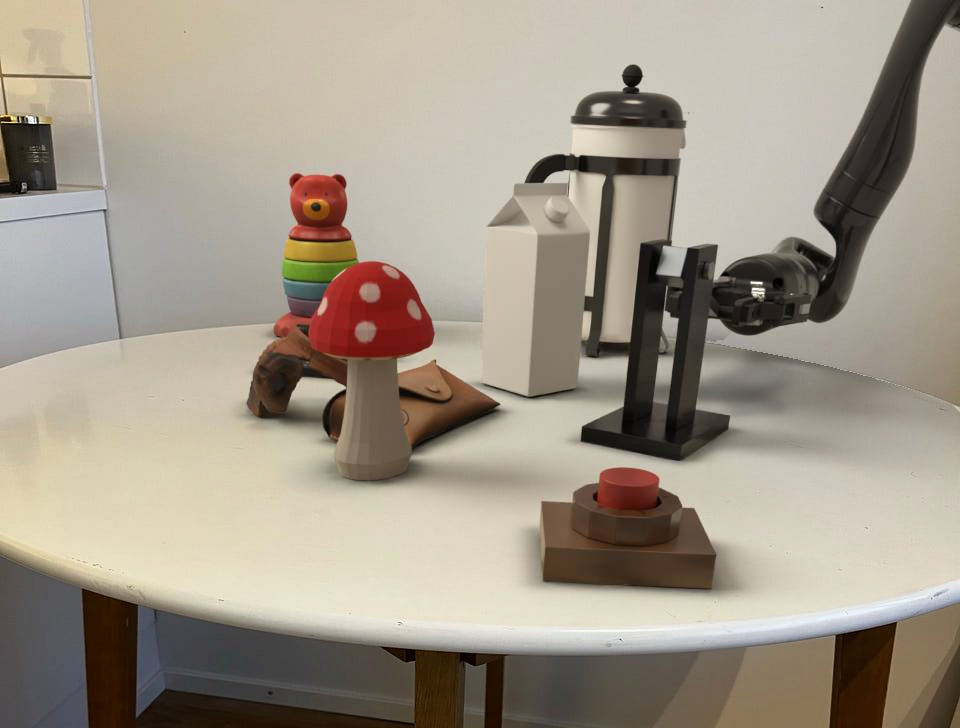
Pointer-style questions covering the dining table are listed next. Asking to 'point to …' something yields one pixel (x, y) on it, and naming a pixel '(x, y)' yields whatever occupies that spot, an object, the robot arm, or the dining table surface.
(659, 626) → the dining table surface
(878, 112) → the robot arm
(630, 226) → the coffee press
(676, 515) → the button block
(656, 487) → the red button
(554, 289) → the milk carton
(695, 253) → the lever stand
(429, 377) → the sunglasses case
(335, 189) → the stacking bear
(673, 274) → the stand lever
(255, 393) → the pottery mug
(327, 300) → the decorative mushroom
